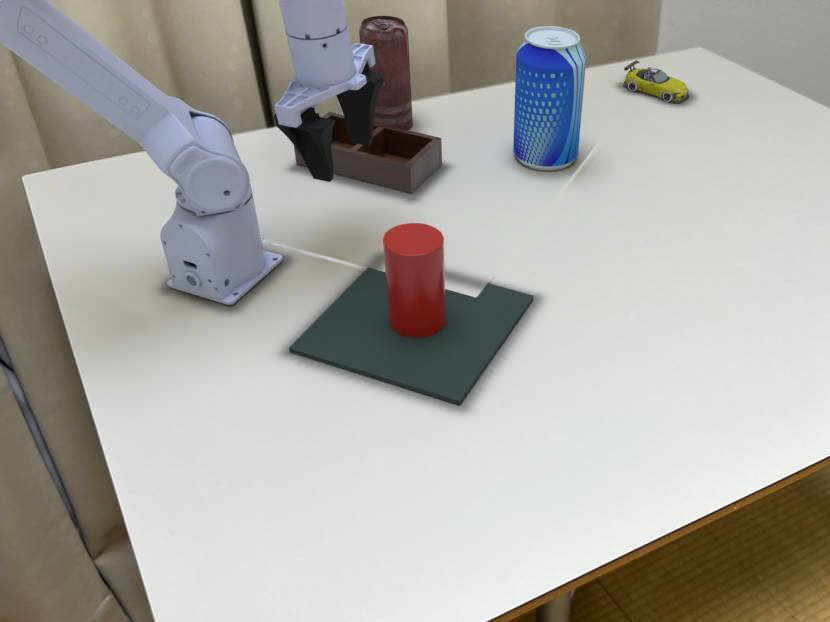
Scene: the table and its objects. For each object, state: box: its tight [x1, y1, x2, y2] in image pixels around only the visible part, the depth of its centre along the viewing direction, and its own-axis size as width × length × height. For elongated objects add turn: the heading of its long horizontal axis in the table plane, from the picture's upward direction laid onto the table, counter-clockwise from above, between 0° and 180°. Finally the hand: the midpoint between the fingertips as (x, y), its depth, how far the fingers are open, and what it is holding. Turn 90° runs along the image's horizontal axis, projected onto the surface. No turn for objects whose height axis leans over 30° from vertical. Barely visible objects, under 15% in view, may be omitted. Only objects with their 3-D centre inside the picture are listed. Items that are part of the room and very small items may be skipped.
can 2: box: [382, 222, 446, 338], centre depth 86 cm, size 6×6×10 cm
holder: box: [293, 111, 443, 195], centre depth 111 cm, size 8×16×4 cm, turn 68°
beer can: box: [512, 25, 587, 171], centre depth 110 cm, size 8×8×16 cm
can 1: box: [358, 15, 414, 131], centre depth 116 cm, size 6×6×14 cm
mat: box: [288, 267, 534, 405], centre depth 89 cm, size 18×18×1 cm
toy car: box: [623, 59, 691, 104], centre depth 133 cm, size 5×10×3 cm, turn 57°
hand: (343, 160), depth 92 cm, fingers open, 7 cm apart
